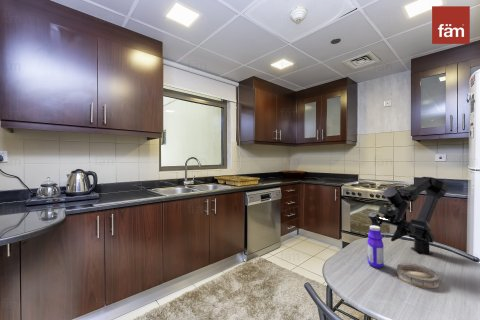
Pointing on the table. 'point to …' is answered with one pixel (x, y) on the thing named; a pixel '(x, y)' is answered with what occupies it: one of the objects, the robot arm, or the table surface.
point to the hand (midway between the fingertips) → (381, 237)
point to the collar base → (418, 275)
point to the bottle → (375, 247)
